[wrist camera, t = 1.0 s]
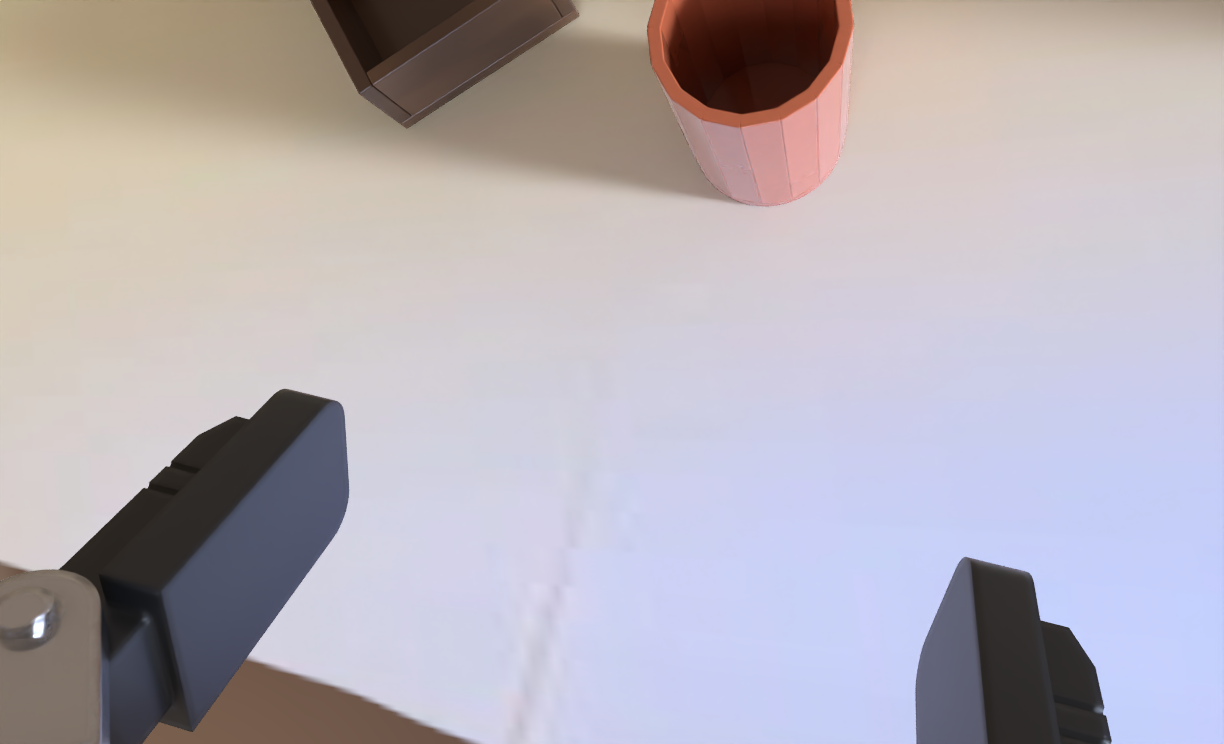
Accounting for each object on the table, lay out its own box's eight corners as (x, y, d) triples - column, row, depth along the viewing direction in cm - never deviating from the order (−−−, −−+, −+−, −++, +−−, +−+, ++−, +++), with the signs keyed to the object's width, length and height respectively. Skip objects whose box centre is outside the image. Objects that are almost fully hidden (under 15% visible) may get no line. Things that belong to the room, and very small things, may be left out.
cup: (796, 30, 36) (786, -112, 26) (874, 154, 35) (891, 53, 26) (667, 111, 37) (613, 1, 27) (739, 234, 36) (709, 164, 26)
